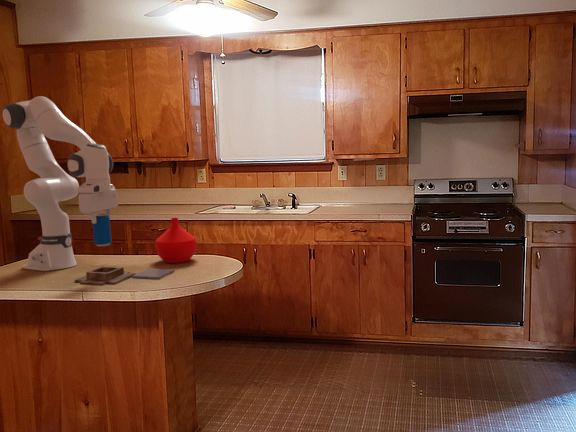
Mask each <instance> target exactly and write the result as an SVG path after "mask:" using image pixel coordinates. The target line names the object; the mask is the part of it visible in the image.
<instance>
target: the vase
mask: <svg viewBox="0 0 576 432" xmlns="http://www.w3.org/2000/svg"><path fill="white" fill-rule="evenodd" d="M170 221H171V222H170V224H171V225H170V227H169V228H168V229H167V230H165V232H163V233H162V234H161V235H160V236H159V237H157V239H155V242H154V249H155V251H156V253H157V256H158V257H159V258H160V259H161V261H162V260H163V261H164V262H166V263H168V264H180V263H181V264H182V263H185V261H186V262H188V261H189V260H190V259H191V258H192V257H193V256H194V255H195V252H196V251H197V247H198V241H197V238H196V237H195V235H193V234H191V233H189V232H188V231H186V230H185V229H184V228H182V226H180V224H179V217H171V218H170Z"/></svg>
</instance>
